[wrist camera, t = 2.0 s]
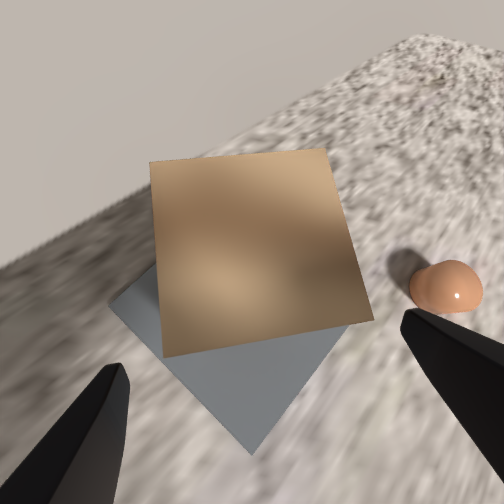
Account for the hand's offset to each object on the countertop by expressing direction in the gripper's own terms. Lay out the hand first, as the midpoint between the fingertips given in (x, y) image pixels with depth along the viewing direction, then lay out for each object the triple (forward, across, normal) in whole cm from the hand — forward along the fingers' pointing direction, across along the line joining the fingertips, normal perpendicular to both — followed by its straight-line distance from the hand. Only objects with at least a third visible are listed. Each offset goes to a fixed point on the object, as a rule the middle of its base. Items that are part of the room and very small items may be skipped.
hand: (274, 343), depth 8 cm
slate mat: (+9, 0, +6) cm, 11 cm away
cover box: (+10, 0, +5) cm, 11 cm away
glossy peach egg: (+8, -15, +7) cm, 18 cm away
